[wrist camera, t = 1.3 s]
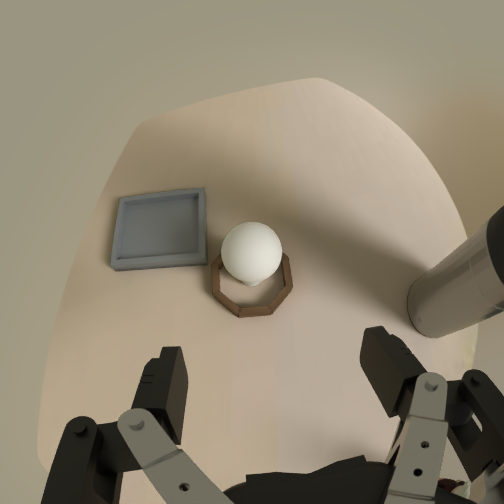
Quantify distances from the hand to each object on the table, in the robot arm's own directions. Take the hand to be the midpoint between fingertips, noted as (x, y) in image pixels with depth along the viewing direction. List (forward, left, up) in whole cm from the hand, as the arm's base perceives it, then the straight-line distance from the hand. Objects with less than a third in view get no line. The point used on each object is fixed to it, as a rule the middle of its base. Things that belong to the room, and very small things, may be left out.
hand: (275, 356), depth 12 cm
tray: (+12, -20, -22) cm, 32 cm away
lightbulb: (0, -12, -22) cm, 25 cm away
